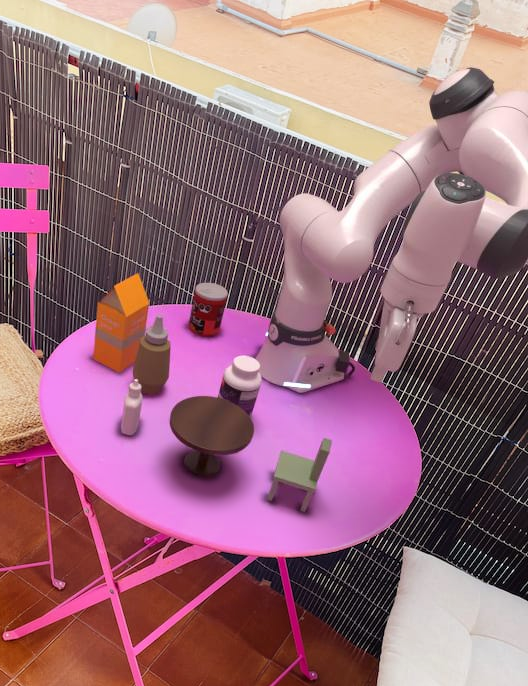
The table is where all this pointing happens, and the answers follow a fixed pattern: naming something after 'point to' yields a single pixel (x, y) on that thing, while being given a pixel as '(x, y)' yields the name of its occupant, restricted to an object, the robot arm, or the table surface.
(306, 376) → the robot arm
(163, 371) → the squeeze bottle
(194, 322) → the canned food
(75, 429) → the table surface
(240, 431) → the little table
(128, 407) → the eye dropper bottle
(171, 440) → the table surface
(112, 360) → the orange juice
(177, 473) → the table surface
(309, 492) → the chair
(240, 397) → the pill bottle
